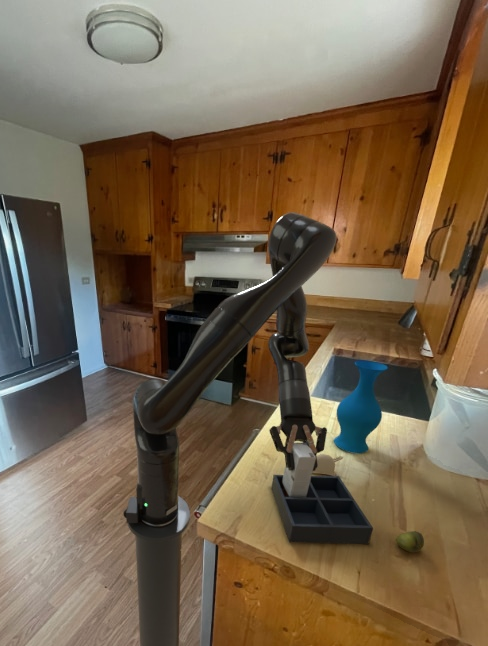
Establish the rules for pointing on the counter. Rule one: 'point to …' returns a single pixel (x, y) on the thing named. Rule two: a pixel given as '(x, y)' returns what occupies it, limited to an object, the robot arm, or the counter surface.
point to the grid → (322, 513)
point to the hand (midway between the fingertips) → (302, 470)
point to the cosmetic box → (299, 471)
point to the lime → (411, 541)
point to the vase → (359, 410)
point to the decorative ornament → (326, 464)
